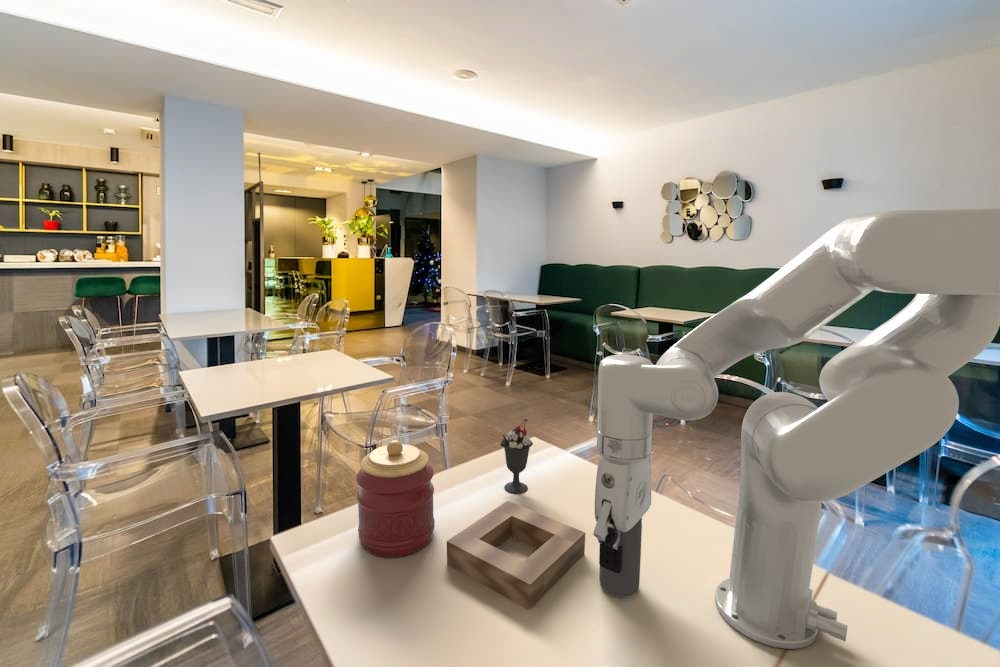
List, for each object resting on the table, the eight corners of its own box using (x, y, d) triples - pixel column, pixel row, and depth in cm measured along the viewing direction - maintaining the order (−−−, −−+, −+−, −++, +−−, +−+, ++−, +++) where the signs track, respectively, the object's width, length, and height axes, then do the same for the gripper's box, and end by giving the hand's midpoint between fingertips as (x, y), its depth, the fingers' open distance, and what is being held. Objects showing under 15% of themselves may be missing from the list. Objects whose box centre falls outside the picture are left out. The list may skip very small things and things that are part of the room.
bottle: (635, 572, 76) (639, 482, 73) (642, 599, 70) (646, 502, 68) (597, 570, 77) (599, 480, 74) (601, 596, 71) (603, 500, 68)
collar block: (584, 554, 81) (585, 532, 80) (529, 610, 69) (530, 584, 68) (507, 520, 91) (507, 500, 90) (446, 563, 78) (446, 541, 78)
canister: (352, 526, 88) (347, 433, 85) (421, 509, 94) (419, 422, 91) (367, 568, 77) (363, 463, 74) (445, 546, 83) (444, 448, 80)
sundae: (537, 485, 104) (539, 418, 101) (521, 499, 98) (523, 428, 96) (510, 477, 107) (512, 412, 105) (494, 490, 102) (495, 421, 99)
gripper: (623, 471, 61) (618, 601, 64) (671, 430, 74) (665, 539, 77) (570, 456, 65) (568, 578, 68) (624, 419, 78) (620, 523, 82)
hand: (620, 556), depth 73 cm, fingers closed on bottle, 5 cm apart
